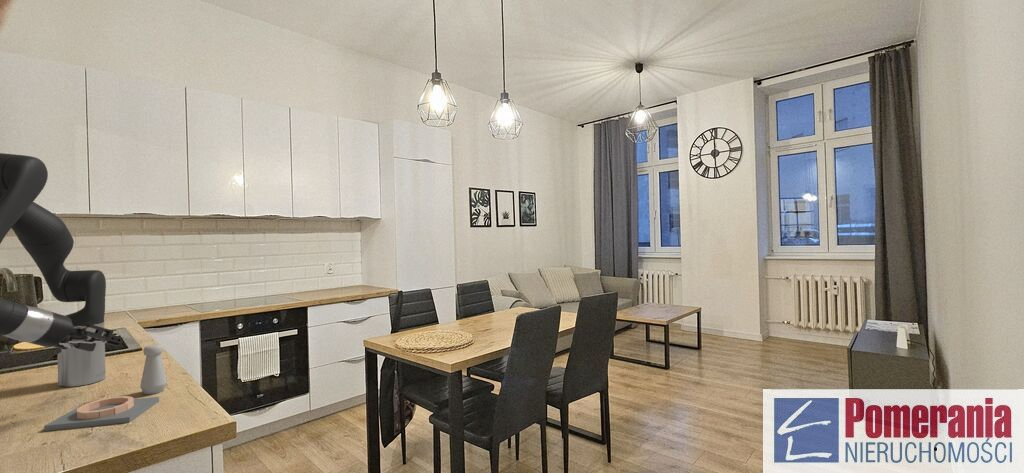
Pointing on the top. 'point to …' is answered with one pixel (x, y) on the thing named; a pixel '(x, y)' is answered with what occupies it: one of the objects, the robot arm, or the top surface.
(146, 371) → the salt shaker
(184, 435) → the top surface
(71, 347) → the robot arm
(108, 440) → the top surface
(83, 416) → the holder
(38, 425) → the top surface
